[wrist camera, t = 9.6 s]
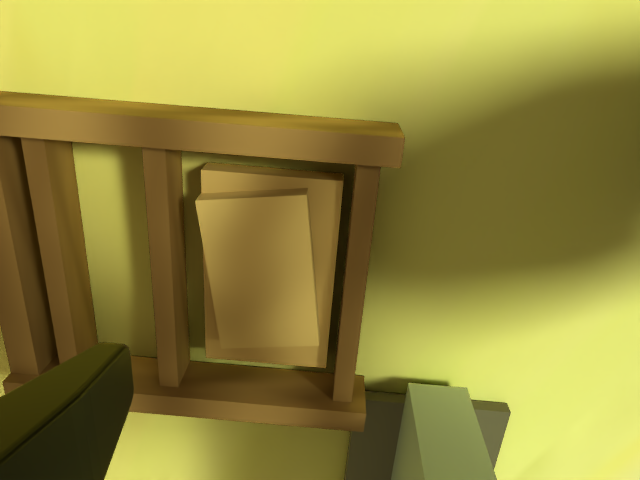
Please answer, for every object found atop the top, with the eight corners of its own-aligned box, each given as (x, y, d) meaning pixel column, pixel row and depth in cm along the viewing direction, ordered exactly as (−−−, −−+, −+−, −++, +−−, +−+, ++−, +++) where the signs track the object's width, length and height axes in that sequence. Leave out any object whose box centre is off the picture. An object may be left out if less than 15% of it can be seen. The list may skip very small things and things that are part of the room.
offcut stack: (343, 173, 19) (343, 188, 18) (326, 353, 23) (325, 380, 21) (206, 162, 19) (194, 176, 18) (210, 343, 23) (200, 369, 21)
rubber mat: (506, 403, 23) (510, 412, 23) (476, 508, 26) (479, 518, 26) (355, 390, 24) (355, 398, 23) (342, 496, 26) (342, 506, 26)
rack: (397, 123, 18) (404, 138, 16) (361, 393, 24) (363, 432, 21) (-16, 89, 19) (-65, 100, 16) (38, 364, 24) (6, 400, 22)
